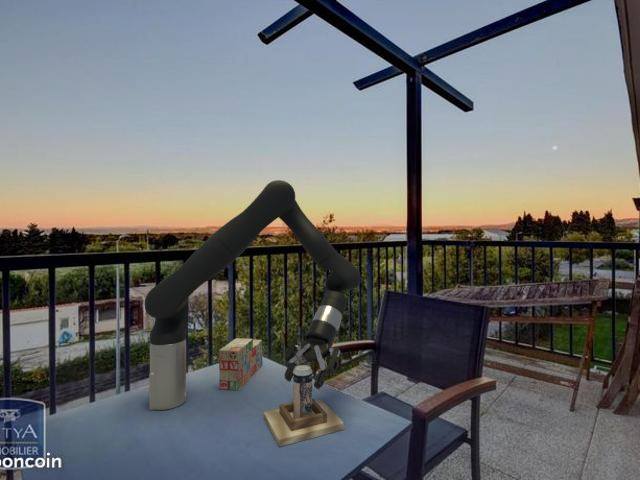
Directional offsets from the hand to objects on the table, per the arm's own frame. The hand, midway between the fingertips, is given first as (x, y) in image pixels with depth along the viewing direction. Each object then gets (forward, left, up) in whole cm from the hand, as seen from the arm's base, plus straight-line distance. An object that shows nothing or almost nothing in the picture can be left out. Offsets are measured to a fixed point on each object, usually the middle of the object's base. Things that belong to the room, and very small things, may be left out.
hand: (301, 383), depth 81 cm
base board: (0, 0, -10) cm, 10 cm away
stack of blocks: (-7, +36, -10) cm, 38 cm away
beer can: (0, 0, -9) cm, 9 cm away
